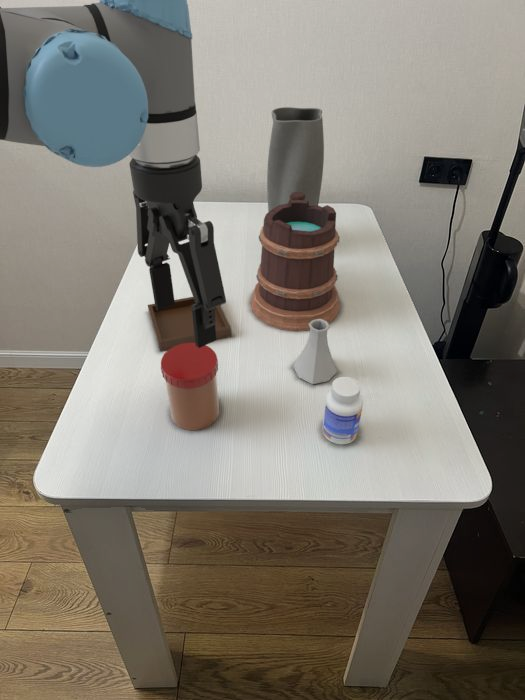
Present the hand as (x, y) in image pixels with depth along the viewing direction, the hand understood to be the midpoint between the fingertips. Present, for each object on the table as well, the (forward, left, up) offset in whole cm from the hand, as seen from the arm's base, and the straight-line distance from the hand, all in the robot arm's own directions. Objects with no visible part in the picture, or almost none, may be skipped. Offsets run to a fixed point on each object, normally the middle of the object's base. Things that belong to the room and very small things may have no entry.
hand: (184, 323), depth 66 cm
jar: (0, 0, -18) cm, 18 cm away
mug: (+27, +25, -18) cm, 41 cm away
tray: (+4, +23, -18) cm, 29 cm away
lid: (0, 0, -7) cm, 7 cm away
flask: (+22, +3, -18) cm, 28 cm away
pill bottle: (+20, -11, -18) cm, 29 cm away
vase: (+35, +47, -18) cm, 61 cm away
